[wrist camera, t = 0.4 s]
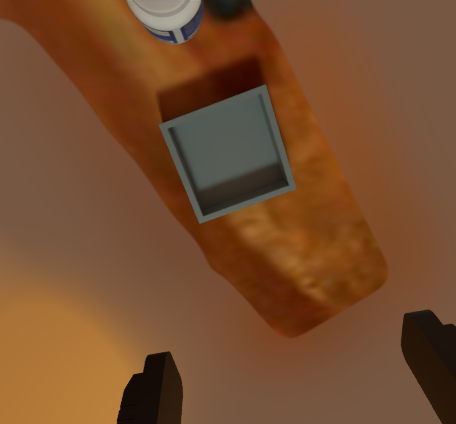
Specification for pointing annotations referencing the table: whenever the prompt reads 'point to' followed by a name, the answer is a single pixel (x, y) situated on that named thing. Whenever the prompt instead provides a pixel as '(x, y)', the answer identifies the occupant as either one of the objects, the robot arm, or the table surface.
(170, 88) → the table surface
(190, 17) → the pill bottle
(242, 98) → the tray
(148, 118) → the table surface
